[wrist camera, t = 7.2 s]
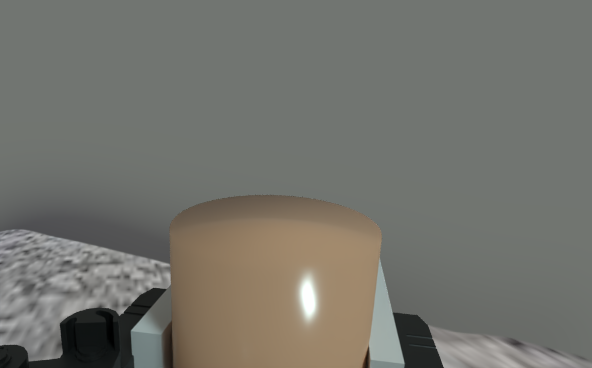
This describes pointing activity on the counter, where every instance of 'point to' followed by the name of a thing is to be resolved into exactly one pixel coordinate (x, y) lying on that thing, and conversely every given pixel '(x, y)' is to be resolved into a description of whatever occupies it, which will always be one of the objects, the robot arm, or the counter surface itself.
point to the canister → (272, 283)
